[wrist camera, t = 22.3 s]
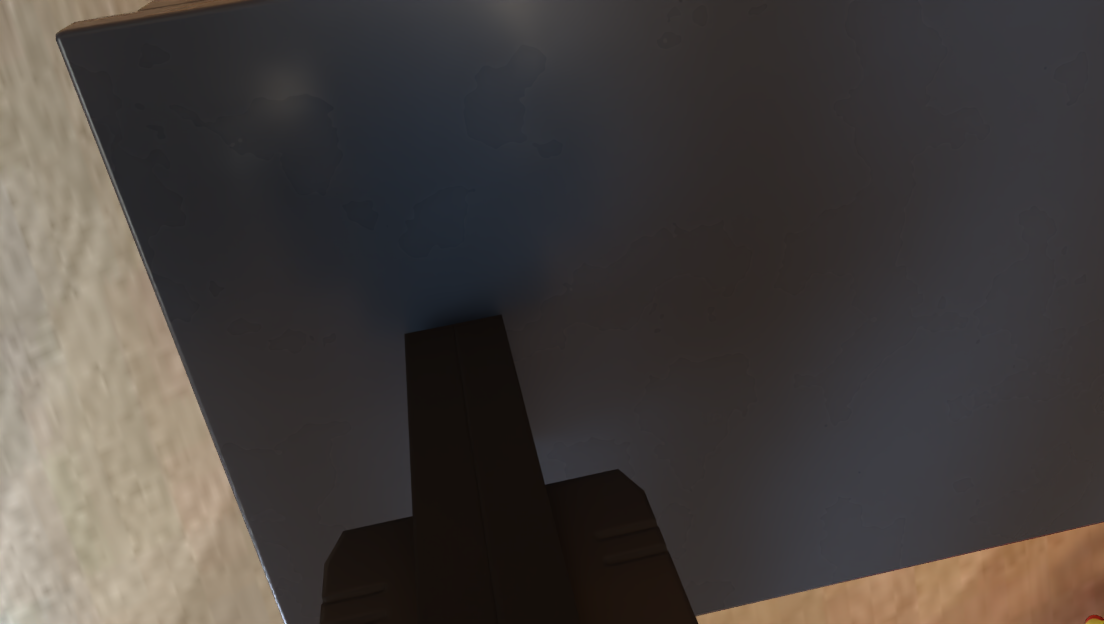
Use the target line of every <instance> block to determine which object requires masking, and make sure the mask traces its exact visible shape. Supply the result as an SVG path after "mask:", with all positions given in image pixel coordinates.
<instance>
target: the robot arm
mask: <svg viewBox="0 0 1104 624" xmlns="http://www.w3.org/2000/svg"><path fill="white" fill-rule="evenodd" d="M404 338H405V360H406V382H407V404H408V426H409V449H410V471H411V493H412V515H413V516H410V517H406V518H401V519H397V520H392V521H387V522H383V523H378V524H374V525H369V526H364V527H360V528H355V529H351V530H346V531H343V532H342V534H341V536H340V538H339V539H338V541H337V543H336V545H335V546H334V548H333V550H332V551H331V553H330V555H329V557H328V558H327V560H326V562H325V564H324V574H323V587H322V604H321V611H320V624H698V622H697V619H696V617H695V615H694V612H693V610H692V607H691V605H690V602H689V600H688V597H687V595H686V592H685V590H684V587H683V585H682V583H681V580H680V578H679V575H678V573H677V570H676V568H675V565H674V563H673V560H672V558H671V555H670V553H669V551H668V550H667V547H666V543H665V541H664V538H663V536H662V533H661V531H660V528H659V526H657V522H656V518H655V516H654V514H653V511H652V509H651V506H650V504H649V501H648V499H647V496H646V494H645V491H644V490H643V489H641V488H640V487H639V486H638V485H637V484H636V483H634V482H633V481H632V480H631V479H630V478H628V477H627V476H626V475H625V474H624V473H623V472H621V471H620V470H619V469H615V470H610V471H606V472H601V473H597V474H592V475H587V476H583V477H578V478H573V479H569V480H564V481H560V482H555V483H550V484H546V485H545V482H544V478H543V474H542V470H541V467H540V463H539V459H538V455H537V451H536V447H535V443H534V439H533V435H532V431H531V427H530V423H529V419H528V415H527V412H526V408H525V404H524V400H523V396H522V392H521V388H520V384H519V380H518V376H517V372H516V368H515V364H514V361H513V357H512V353H511V349H510V345H509V341H508V337H507V333H506V329H505V325H504V321H503V317H502V315H497V316H492V317H487V318H482V319H477V320H472V321H467V322H462V323H457V324H452V325H447V326H441V327H436V328H431V329H426V330H421V331H416V332H411V333H406V334H404Z"/></svg>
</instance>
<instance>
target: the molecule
mask: <svg viewBox="0 0 1104 624" xmlns="http://www.w3.org/2000/svg"><path fill="white" fill-rule="evenodd" d="M1085 624H1104V619H1103V618H1102V617H1100V616H1098V615H1091V616H1089V617H1088V618H1087V619H1086V622H1085Z"/></svg>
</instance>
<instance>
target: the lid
mask: <svg viewBox="0 0 1104 624" xmlns="http://www.w3.org/2000/svg"><path fill="white" fill-rule="evenodd" d="M56 41H57V44H58V47H59V49H60V52H61V54H62V57H63V59H64V62H65V64H66V67H67V69H68V72H69V75H70V77H71V80H72V82H73V85H74V87H75V90H76V92H77V95H78V98H79V100H80V103H81V105H82V108H83V110H84V113H85V115H86V118H87V121H88V123H89V126H90V128H91V131H92V133H93V136H94V138H95V141H96V144H97V146H98V149H99V151H100V154H101V156H102V159H103V161H104V164H105V167H106V169H107V172H108V174H109V177H110V179H111V182H112V184H113V187H114V189H115V192H116V195H117V197H118V200H119V202H120V205H121V207H122V210H123V212H124V215H125V218H126V220H127V223H128V225H129V228H130V230H131V233H132V235H133V238H134V241H135V243H136V246H137V248H138V251H139V253H140V256H141V258H142V261H143V264H144V266H145V269H146V271H147V274H148V276H149V279H150V281H151V284H152V286H153V289H154V292H155V294H156V297H157V299H158V302H159V304H160V307H161V309H162V312H163V315H164V317H165V320H166V322H167V325H168V327H169V330H170V332H171V335H172V338H173V340H174V343H175V345H176V348H177V350H178V353H179V355H180V358H181V361H182V363H183V366H184V368H185V371H186V373H187V376H188V378H189V381H190V384H191V386H192V389H193V391H194V394H195V396H196V399H197V401H198V404H199V406H200V409H201V412H202V414H203V417H204V419H205V422H206V424H207V427H208V429H209V432H210V435H211V437H212V440H213V442H214V445H215V447H216V450H217V452H218V455H219V458H220V460H221V463H222V465H223V468H224V470H225V473H226V475H227V478H228V481H229V483H230V486H231V488H232V491H233V493H234V496H235V498H236V501H237V504H238V506H239V509H240V511H241V514H242V516H243V519H244V521H245V524H246V526H247V529H248V532H249V534H250V537H251V539H252V542H253V544H254V547H255V549H256V552H257V555H258V557H259V560H260V562H261V565H262V567H263V570H264V572H265V575H266V578H267V580H268V583H269V585H270V588H271V590H272V593H273V595H274V598H275V601H276V603H277V606H278V608H279V611H280V613H281V616H282V618H283V621H284V624H320V611H321V604H322V587H323V574H324V564H325V562H326V560H327V558H328V557H329V555H330V553H331V551H332V550H333V548H334V546H335V545H336V543H337V541H338V539H339V538H340V536H341V534H342V532H343V531H346V530H351V529H355V528H360V527H364V526H369V525H374V524H378V523H383V522H387V521H392V520H397V519H401V518H406V517H410V516H413V515H412V493H411V471H410V449H409V426H408V404H407V382H406V360H405V338H404V334H406V333H411V332H416V331H421V330H426V329H431V328H436V327H441V326H447V325H452V324H457V323H462V322H467V321H472V320H477V319H482V318H487V317H492V316H497V315H502V317H503V321H504V325H505V329H506V333H507V337H508V341H509V345H510V349H511V353H512V357H513V361H514V364H515V368H516V372H517V376H518V380H519V384H520V388H521V392H522V396H523V400H524V404H525V408H526V412H527V415H528V419H529V423H530V427H531V431H532V435H533V439H534V443H535V447H536V451H537V455H538V459H539V463H540V467H541V470H542V474H543V478H544V482H545V485H546V484H550V483H555V482H560V481H564V480H569V479H573V478H578V477H583V476H587V475H592V474H597V473H601V472H606V471H610V470H615V469H619V470H620V471H621V472H623V473H624V474H625V475H626V476H627V477H628V478H630V479H631V480H632V481H633V482H634V483H636V484H637V485H638V486H639V487H640V488H641V489H643V490H644V491H645V494H646V496H647V499H648V501H649V504H650V506H651V509H652V511H653V514H654V516H655V518H656V522H657V526H659V528H660V531H661V533H662V536H663V538H664V541H665V543H666V547H667V550H668V551H669V553H670V555H671V558H672V560H673V563H674V565H675V568H676V570H677V573H678V575H679V578H680V580H681V583H682V585H683V587H684V590H685V592H686V595H687V597H688V600H689V602H690V605H691V607H692V610H693V612H694V615H695V616H699V615H703V614H707V613H712V612H716V611H720V610H725V609H729V608H733V607H738V606H742V605H746V604H751V603H755V602H759V601H764V600H768V599H772V598H777V597H781V596H785V595H790V594H794V593H798V592H803V591H807V590H811V589H816V588H820V587H824V586H829V585H833V584H837V583H842V582H846V581H850V580H855V579H859V578H863V577H868V576H872V575H876V574H881V573H885V572H889V571H894V570H898V569H902V568H907V567H911V566H916V565H920V564H924V563H929V562H933V561H937V560H942V559H946V558H950V557H955V556H959V555H963V554H968V553H972V552H976V551H981V550H985V549H989V548H994V547H998V546H1002V545H1007V544H1011V543H1015V542H1020V541H1024V540H1028V539H1033V538H1037V537H1041V536H1046V535H1050V534H1054V533H1059V532H1063V531H1067V530H1072V529H1076V528H1080V527H1085V526H1089V525H1093V524H1098V523H1102V522H1104V0H205V1H199V2H193V3H187V4H181V5H174V6H168V7H162V8H156V9H150V10H144V11H138V12H132V13H126V14H120V15H114V16H108V17H102V18H96V19H90V20H84V21H78V22H74V23H73V24H71V25H69V26H67V27H66V28H64V29H62V30H60V31H59V32H57V33H56Z"/></svg>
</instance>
